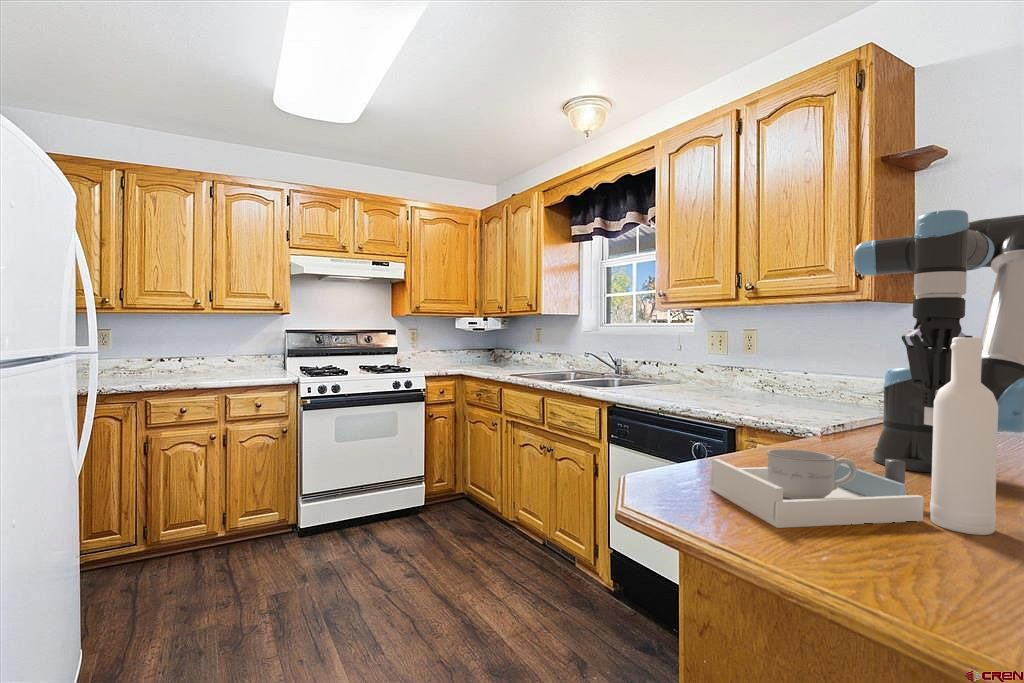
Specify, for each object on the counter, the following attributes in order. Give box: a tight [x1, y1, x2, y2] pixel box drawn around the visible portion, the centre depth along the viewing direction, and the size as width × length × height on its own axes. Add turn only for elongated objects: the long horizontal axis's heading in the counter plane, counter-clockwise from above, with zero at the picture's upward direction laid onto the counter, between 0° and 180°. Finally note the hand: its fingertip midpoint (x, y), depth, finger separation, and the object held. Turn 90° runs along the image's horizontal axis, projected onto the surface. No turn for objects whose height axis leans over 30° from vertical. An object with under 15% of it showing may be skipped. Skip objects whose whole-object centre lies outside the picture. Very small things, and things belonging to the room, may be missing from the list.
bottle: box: [929, 337, 999, 536], centre depth 84 cm, size 8×8×30 cm
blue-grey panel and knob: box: [834, 459, 907, 497], centre depth 96 cm, size 8×15×6 cm, turn 9°
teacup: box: [766, 448, 858, 500], centre depth 94 cm, size 14×11×8 cm
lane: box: [709, 458, 925, 529], centre depth 95 cm, size 33×20×6 cm, turn 99°
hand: (934, 425), depth 98 cm, fingers closed
